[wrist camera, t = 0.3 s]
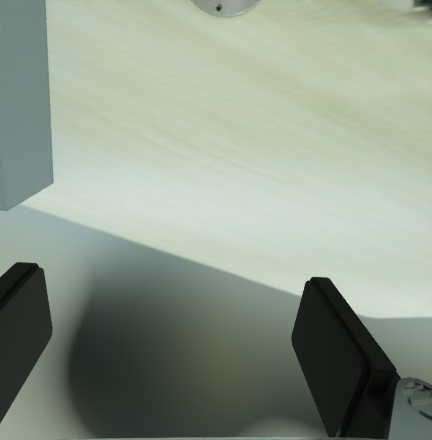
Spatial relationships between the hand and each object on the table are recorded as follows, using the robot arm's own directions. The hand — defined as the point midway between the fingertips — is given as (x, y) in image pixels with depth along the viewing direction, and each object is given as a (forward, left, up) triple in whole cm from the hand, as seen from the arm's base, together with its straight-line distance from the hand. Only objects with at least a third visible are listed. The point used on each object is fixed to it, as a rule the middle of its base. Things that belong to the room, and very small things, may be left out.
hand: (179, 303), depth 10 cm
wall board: (-3, -21, -36) cm, 42 cm away
